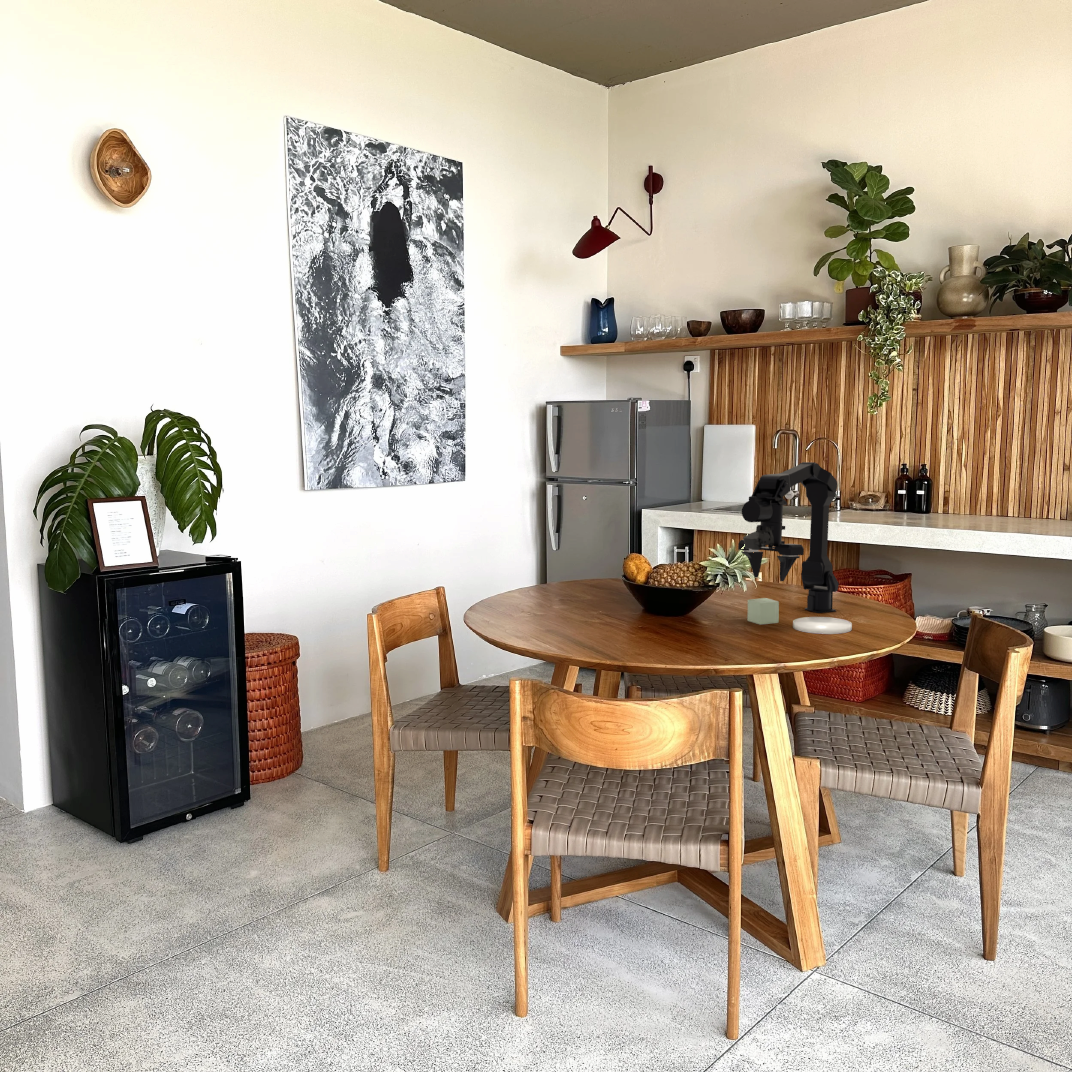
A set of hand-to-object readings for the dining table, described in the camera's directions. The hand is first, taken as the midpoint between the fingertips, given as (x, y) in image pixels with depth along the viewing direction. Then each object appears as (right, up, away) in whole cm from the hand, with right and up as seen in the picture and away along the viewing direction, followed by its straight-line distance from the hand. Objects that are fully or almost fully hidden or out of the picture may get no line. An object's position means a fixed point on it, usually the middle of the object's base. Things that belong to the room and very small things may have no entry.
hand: (768, 579), depth 263 cm
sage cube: (0, -12, +6) cm, 14 cm away
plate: (+13, -13, -3) cm, 19 cm away
